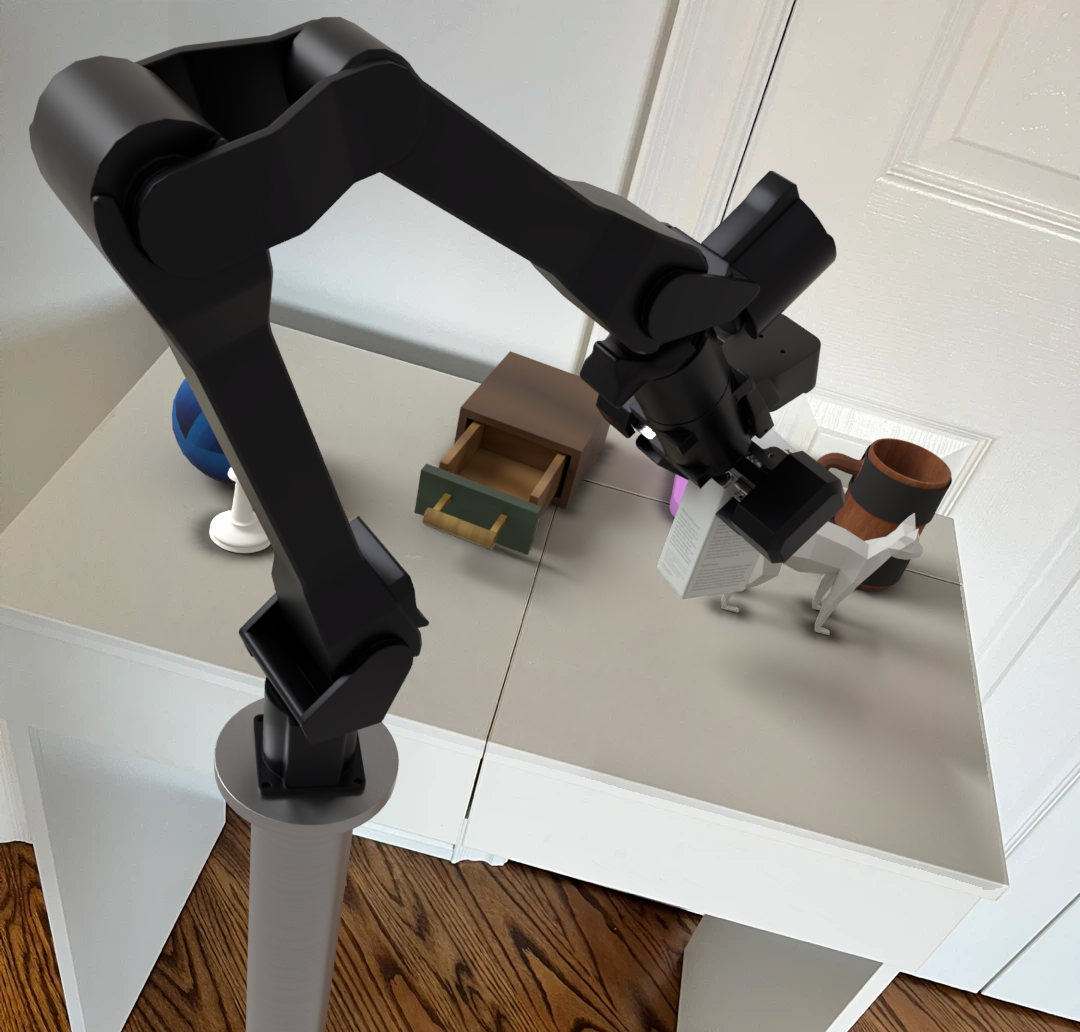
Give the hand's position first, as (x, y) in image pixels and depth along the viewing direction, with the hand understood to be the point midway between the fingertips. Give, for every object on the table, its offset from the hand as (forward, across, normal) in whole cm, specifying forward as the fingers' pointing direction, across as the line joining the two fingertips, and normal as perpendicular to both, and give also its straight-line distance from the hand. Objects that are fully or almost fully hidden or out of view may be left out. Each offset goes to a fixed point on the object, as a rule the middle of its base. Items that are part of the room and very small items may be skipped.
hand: (741, 505), depth 74 cm
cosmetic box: (+4, 0, +6) cm, 7 cm away
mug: (+26, +3, -7) cm, 27 cm away
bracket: (+21, +16, -3) cm, 27 cm away
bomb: (-7, +33, +27) cm, 43 cm away
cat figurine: (+17, 0, +2) cm, 17 cm away
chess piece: (-10, +24, +29) cm, 39 cm away
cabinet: (+12, +27, +7) cm, 31 cm away
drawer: (+4, +20, +14) cm, 24 cm away
